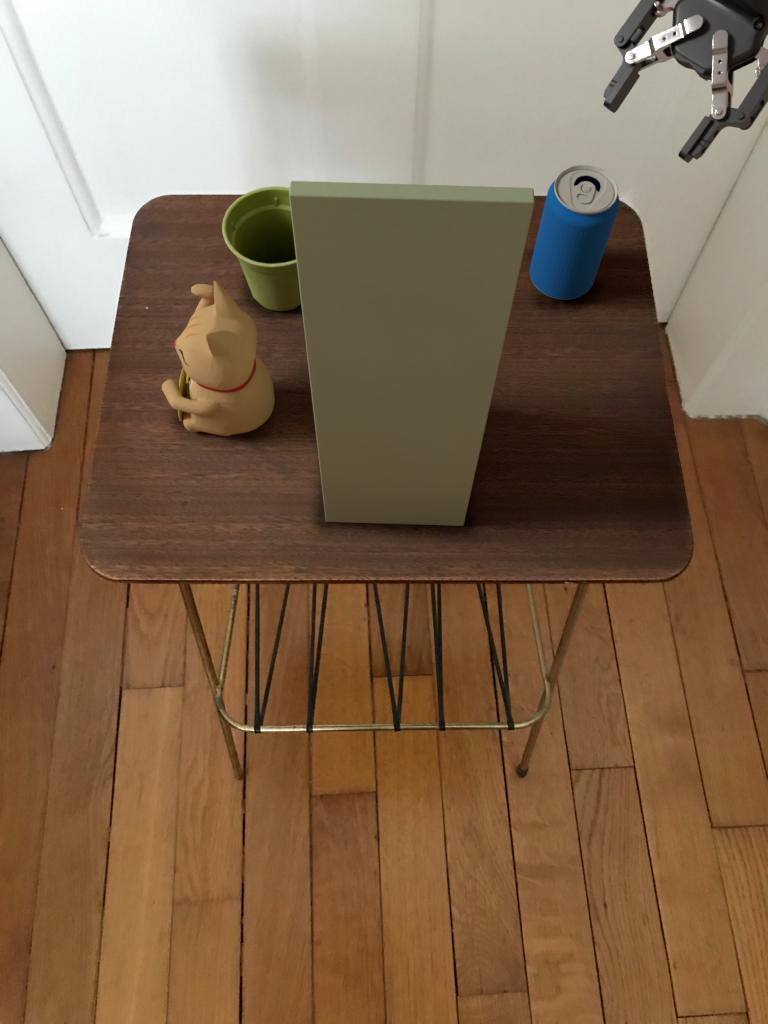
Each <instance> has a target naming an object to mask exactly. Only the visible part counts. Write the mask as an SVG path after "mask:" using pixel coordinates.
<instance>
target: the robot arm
mask: <svg viewBox="0 0 768 1024" xmlns="http://www.w3.org/2000/svg"><path fill="white" fill-rule="evenodd" d="M670 12H672V25H671V27H669V28H668V29H667V28H666V30H663V31H661V32H659V33H657V34H655V35H652V37H650V38H649V40H647V41H645V42H644V43H641V44H640V42H641V41H642V40H643V38H644V37H645V35H646V34H647V32H648V31H649V30H650V28H651V27H652V26H653V25H654V23H655V22H656V20H657V19H658V18H659V19H660V18H663V17H665V16H666V15H667V14H668V13H670ZM767 37H768V0H640V1H639V2H638V3H637V5H636V6H635V7H634V9H633V11H632V12H631V13H630V15H629V16H628V18H627V19H626V20H625V21H624V23H623V25H622V26H621V28H620V29H619V30H618V32H617V33H616V34H615V36H614V38H613V44H614V45H615V46H616V48H617V50H618V52H620V54H621V56H622V63H621V64H620V66H619V68H618V69H617V71H616V73H615V74H614V75H613V77H612V79H611V80H610V82H609V83H608V84H607V86H606V88H605V89H604V92H603V95H602V96H603V98H605V99H604V101H603V104H602V105H603V107H605V108H606V109H607V110H608V111H610V112H611V113H613V114H615V113H616V112H617V111H618V110H619V109H620V107H621V105H622V104H623V103H624V102H625V100H626V98H627V97H628V95H629V94H630V92H631V91H632V89H633V88H634V86H635V85H636V83H637V82H638V80H639V79H640V77H641V75H640V74H639V72H641V71H643V70H646V69H648V68H650V67H651V66H654V65H656V64H660V63H662V64H663V63H665V62H668V61H670V60H672V59H675V61H676V62H677V64H679V65H680V66H682V67H683V68H685V69H687V70H688V69H689V70H693V71H695V73H696V75H698V76H699V77H700V78H701V79H703V80H704V81H706V82H708V81H711V112H710V114H709V115H708V116H707V115H704V117H703V118H702V119H701V120H700V122H699V124H698V125H697V126H696V127H695V128H694V129H695V130H694V131H693V132H692V134H691V135H690V136H689V138H688V139H687V140H686V142H685V143H684V144H683V146H682V147H681V149H680V150H679V152H678V154H677V155H678V157H679V158H680V159H681V160H683V162H685V163H687V164H689V163H690V162H691V161H692V160H693V159H695V160H696V161H698V160H699V159H700V158H702V157H703V156H704V155H705V153H706V152H707V150H708V149H709V148H710V146H711V145H712V144H713V142H714V141H715V139H716V138H717V137H718V135H719V134H720V133H721V131H722V130H723V129H725V128H728V127H729V128H730V127H731V128H736V129H740V130H741V131H747V130H750V128H751V127H752V126H753V124H754V123H755V121H756V120H757V119H758V117H759V116H760V115H761V112H762V111H763V110H764V108H765V107H766V105H767V104H768V49H767V48H765V47H764V44H765V41H766V38H767ZM639 44H640V45H639ZM754 62H757V64H756V68H755V70H754V72H755V73H754V74H755V76H756V80H755V81H754V83H753V84H752V86H751V88H750V89H749V91H748V92H747V94H745V95H746V96H745V97H744V99H743V100H742V101H741V102H740V105H739V106H738V107H737V108H735V107H732V105H733V97H734V83H735V72H736V71H738V70H740V69H742V68H744V67H747V66H749V65H751V64H753V63H754Z"/></svg>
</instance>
